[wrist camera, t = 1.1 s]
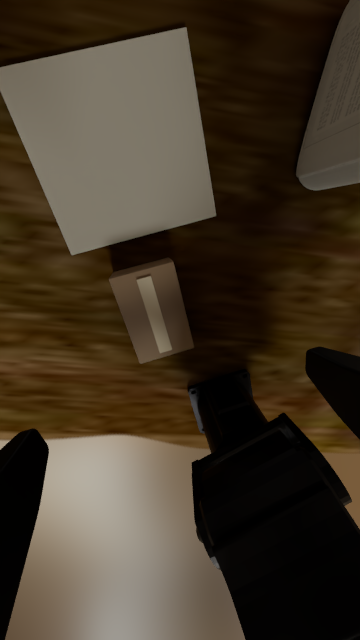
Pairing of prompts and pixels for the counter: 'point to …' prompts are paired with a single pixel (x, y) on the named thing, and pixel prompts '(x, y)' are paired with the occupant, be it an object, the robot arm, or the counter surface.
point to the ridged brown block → (152, 309)
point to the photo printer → (335, 113)
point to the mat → (114, 137)
